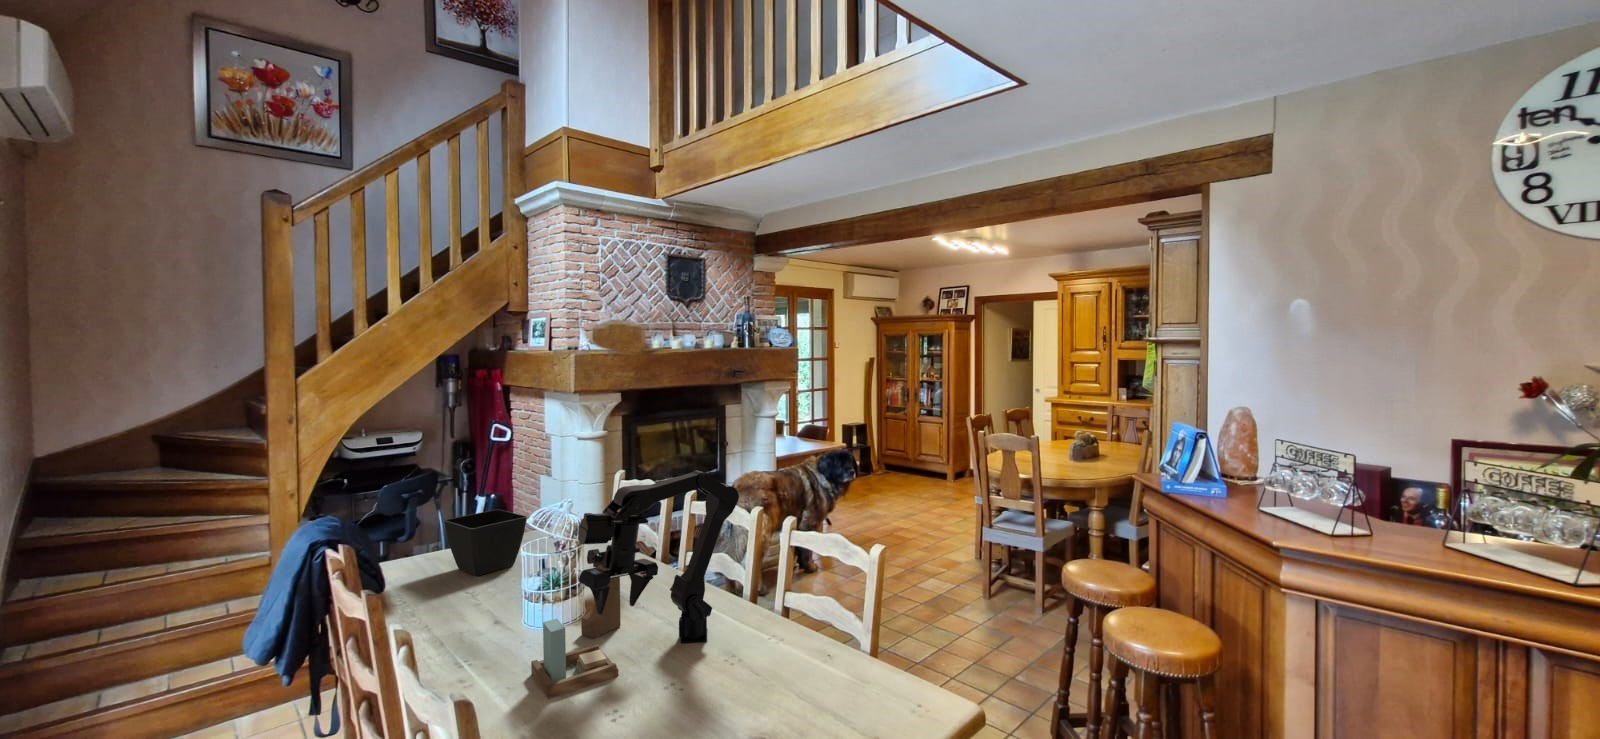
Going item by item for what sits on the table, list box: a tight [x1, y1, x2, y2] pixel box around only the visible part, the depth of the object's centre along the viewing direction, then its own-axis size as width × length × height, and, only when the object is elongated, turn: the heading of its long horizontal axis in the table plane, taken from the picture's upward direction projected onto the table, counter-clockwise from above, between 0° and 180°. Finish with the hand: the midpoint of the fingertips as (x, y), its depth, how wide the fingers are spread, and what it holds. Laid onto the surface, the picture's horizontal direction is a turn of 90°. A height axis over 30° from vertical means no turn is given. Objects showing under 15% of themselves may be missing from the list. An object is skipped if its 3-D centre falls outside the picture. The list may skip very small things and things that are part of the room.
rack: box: [530, 643, 619, 700], centre depth 138 cm, size 15×12×3 cm
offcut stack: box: [576, 649, 607, 674], centre depth 140 cm, size 5×6×3 cm
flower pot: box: [443, 509, 528, 577], centre depth 207 cm, size 19×19×17 cm
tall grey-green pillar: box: [542, 618, 567, 682], centre depth 135 cm, size 3×6×12 cm, turn 37°
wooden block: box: [580, 565, 621, 640], centre depth 159 cm, size 9×4×18 cm, turn 144°
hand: (616, 609), depth 144 cm, fingers open, 9 cm apart
